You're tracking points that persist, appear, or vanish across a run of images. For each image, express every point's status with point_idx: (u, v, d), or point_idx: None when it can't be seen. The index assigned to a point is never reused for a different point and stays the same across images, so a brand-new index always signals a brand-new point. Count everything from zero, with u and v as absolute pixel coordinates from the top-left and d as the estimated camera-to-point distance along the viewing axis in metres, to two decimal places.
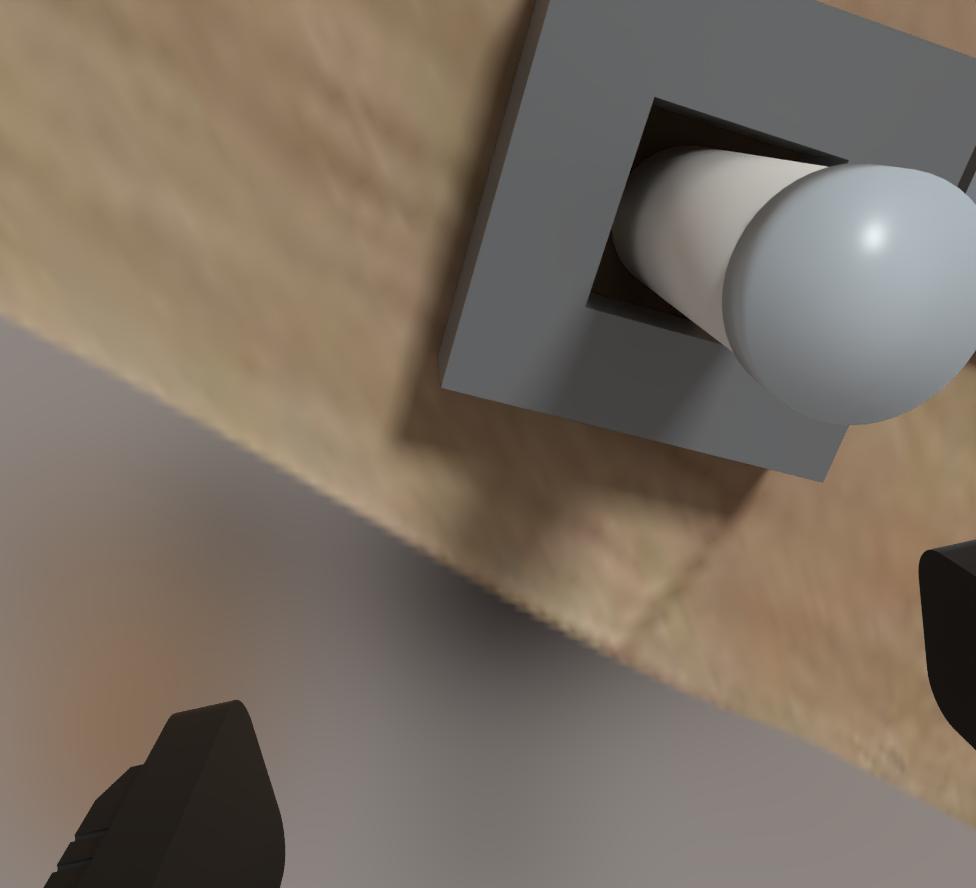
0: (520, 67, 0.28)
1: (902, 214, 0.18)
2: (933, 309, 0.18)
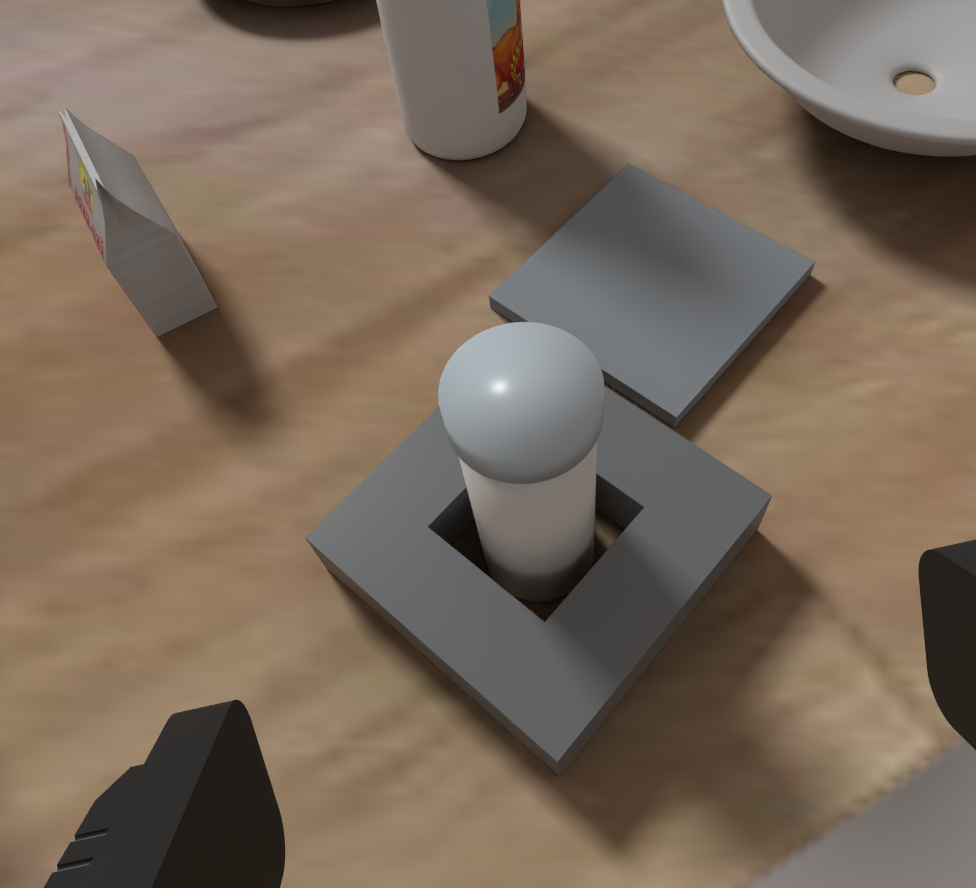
0: (381, 615, 0.39)
1: (475, 364, 0.29)
2: (541, 358, 0.29)
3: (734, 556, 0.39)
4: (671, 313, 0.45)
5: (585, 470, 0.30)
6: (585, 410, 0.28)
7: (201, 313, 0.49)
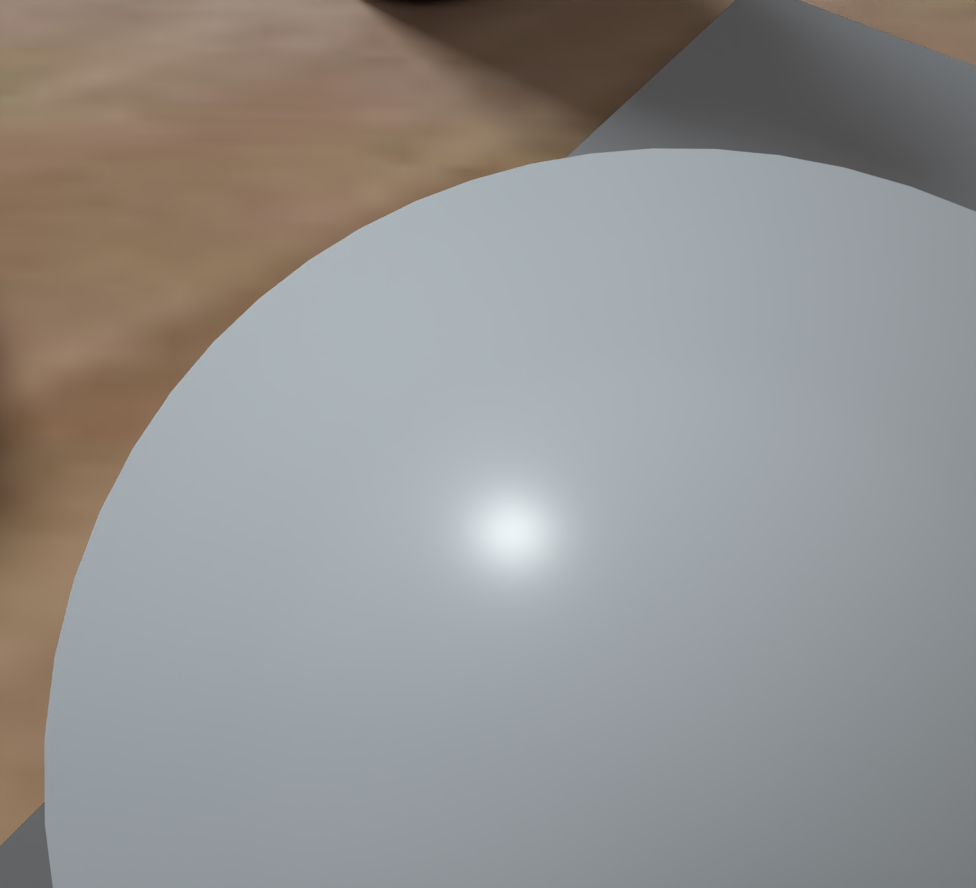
0: None
1: (343, 405, 0.04)
2: (794, 360, 0.04)
3: None
4: None
5: None
6: None
7: None
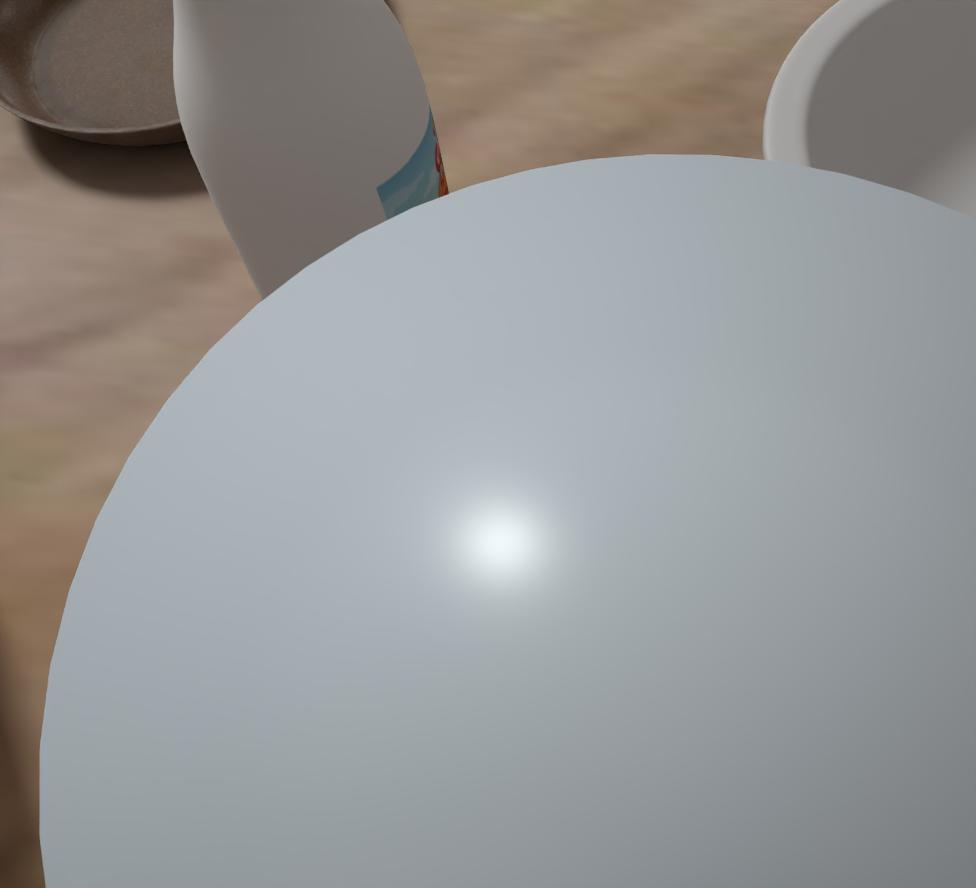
0: None
1: (340, 413, 0.04)
2: (792, 368, 0.04)
3: None
4: None
5: None
6: None
7: None
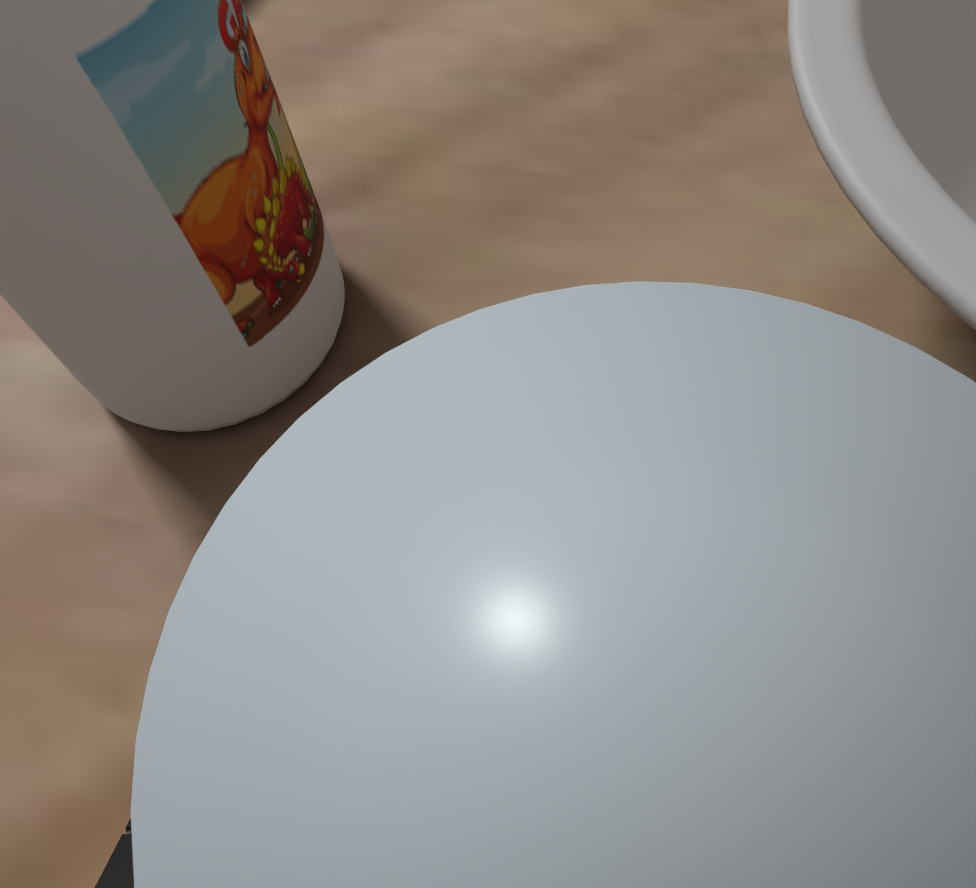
0: None
1: (373, 519, 0.05)
2: (757, 484, 0.05)
3: None
4: None
5: None
6: None
7: None
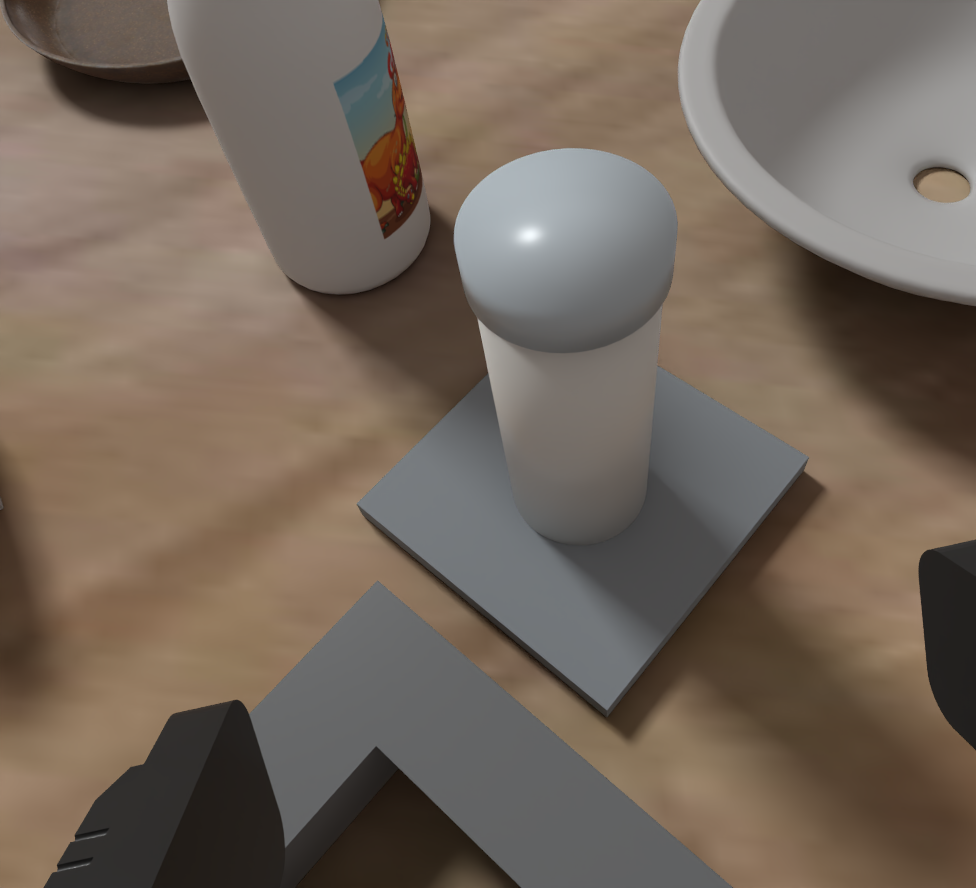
0: None
1: (502, 199, 0.22)
2: (590, 189, 0.22)
3: None
4: None
5: (648, 345, 0.23)
6: (652, 248, 0.21)
7: None
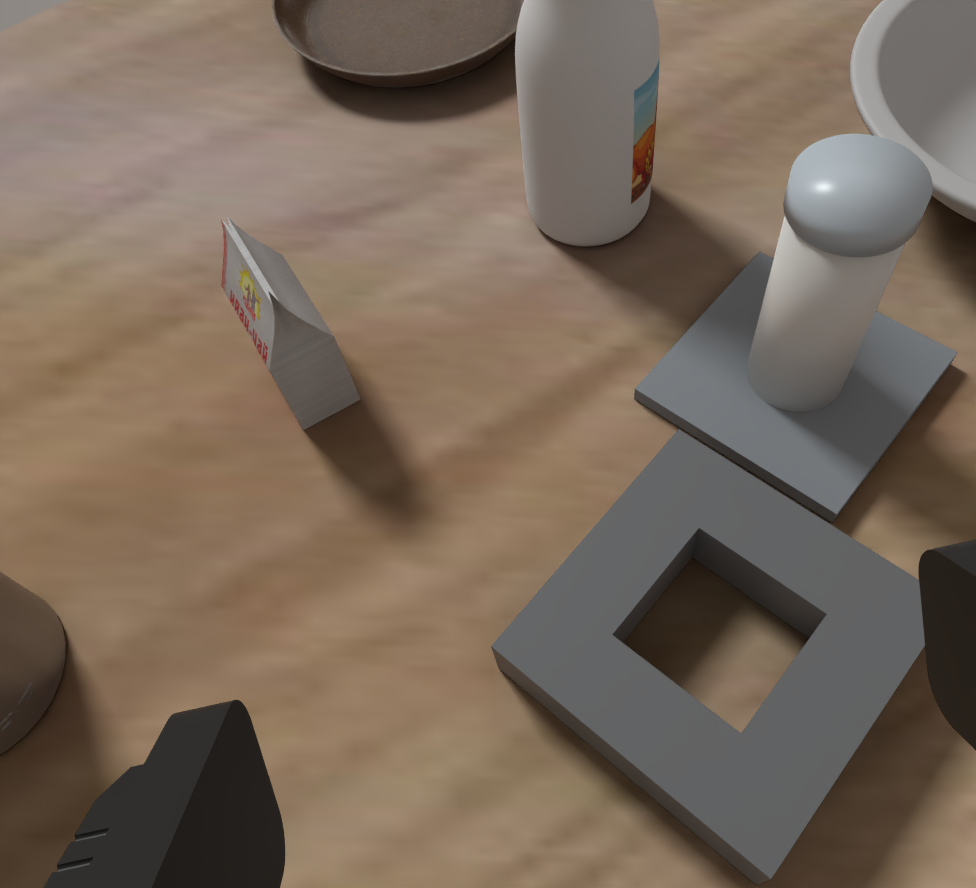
0: (563, 719, 0.39)
1: (816, 165, 0.36)
2: (872, 158, 0.36)
3: None
4: None
5: (898, 257, 0.37)
6: (919, 193, 0.35)
7: (345, 405, 0.50)
